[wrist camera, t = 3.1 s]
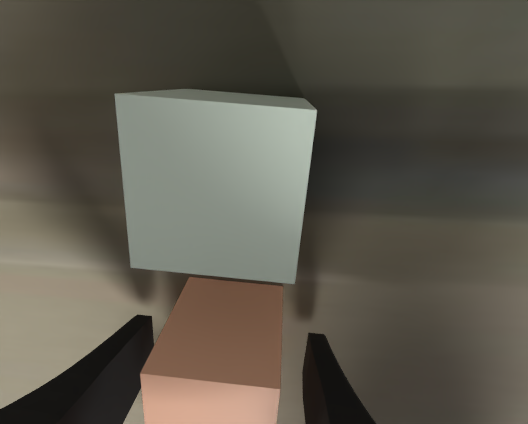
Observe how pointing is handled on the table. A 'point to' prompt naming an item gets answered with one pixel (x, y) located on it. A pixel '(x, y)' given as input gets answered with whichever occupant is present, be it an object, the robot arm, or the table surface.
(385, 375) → the table surface
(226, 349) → the terracotta block
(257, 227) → the sage block
